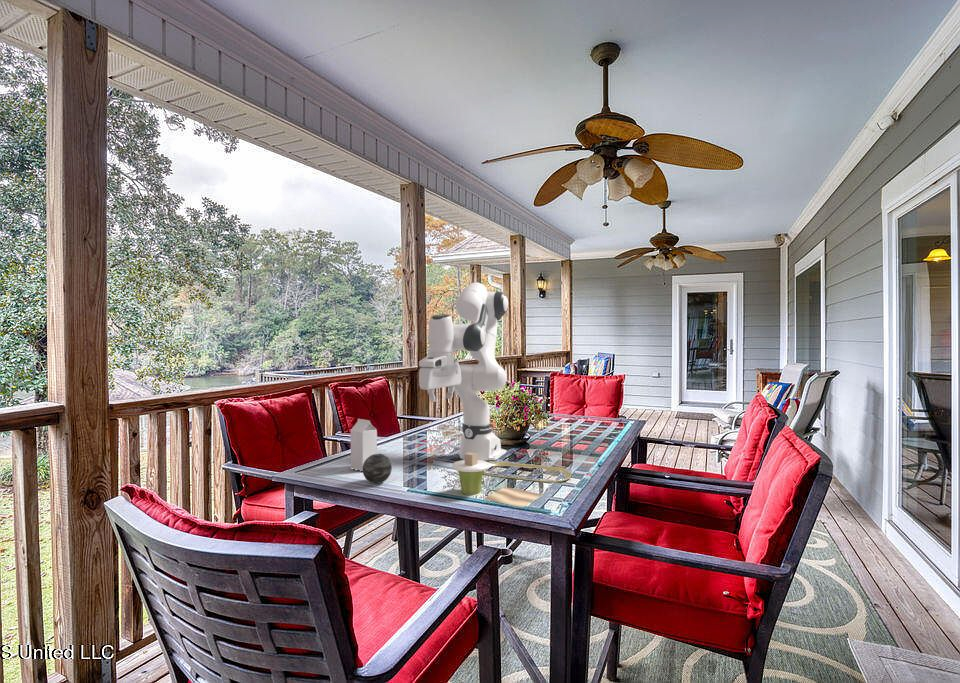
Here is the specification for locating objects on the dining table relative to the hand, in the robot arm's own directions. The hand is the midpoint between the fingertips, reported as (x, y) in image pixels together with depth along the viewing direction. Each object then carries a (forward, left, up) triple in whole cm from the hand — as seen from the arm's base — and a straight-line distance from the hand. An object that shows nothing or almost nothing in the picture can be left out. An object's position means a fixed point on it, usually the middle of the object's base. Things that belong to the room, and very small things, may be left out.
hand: (441, 400), depth 170 cm
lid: (+5, +16, -20) cm, 26 cm away
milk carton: (+3, -35, -29) cm, 46 cm away
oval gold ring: (-24, +20, -29) cm, 43 cm away
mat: (+2, +30, -29) cm, 41 cm away
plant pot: (+5, +16, -29) cm, 33 cm away
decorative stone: (+13, -18, -29) cm, 37 cm away
